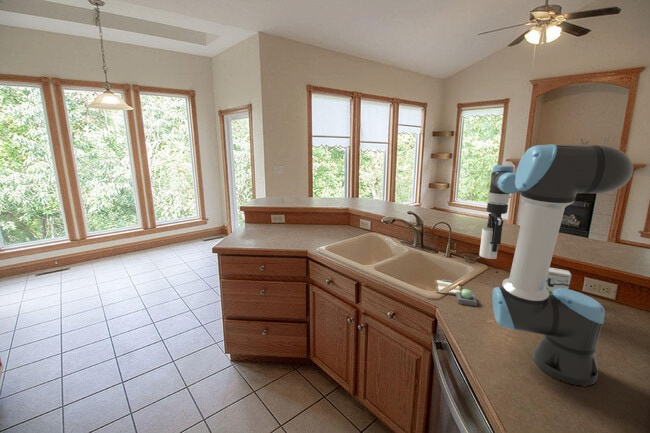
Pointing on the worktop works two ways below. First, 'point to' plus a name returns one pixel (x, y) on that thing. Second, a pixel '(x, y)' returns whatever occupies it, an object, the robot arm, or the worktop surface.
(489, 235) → the mug
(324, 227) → the worktop surface
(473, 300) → the button base
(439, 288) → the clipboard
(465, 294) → the button
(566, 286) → the ink box
